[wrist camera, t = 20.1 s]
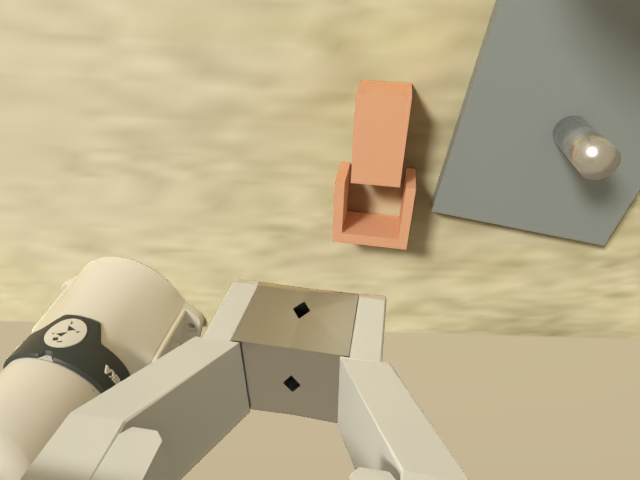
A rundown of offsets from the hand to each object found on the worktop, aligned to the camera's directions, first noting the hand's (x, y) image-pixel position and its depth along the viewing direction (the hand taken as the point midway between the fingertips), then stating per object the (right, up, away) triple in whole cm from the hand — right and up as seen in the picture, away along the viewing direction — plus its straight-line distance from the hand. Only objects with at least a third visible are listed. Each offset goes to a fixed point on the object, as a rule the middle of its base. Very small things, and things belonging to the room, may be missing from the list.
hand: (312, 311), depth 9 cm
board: (+19, +12, +23) cm, 33 cm away
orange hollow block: (+5, +9, +29) cm, 30 cm away
